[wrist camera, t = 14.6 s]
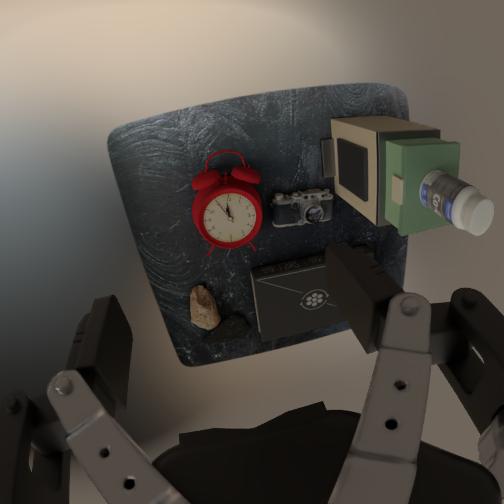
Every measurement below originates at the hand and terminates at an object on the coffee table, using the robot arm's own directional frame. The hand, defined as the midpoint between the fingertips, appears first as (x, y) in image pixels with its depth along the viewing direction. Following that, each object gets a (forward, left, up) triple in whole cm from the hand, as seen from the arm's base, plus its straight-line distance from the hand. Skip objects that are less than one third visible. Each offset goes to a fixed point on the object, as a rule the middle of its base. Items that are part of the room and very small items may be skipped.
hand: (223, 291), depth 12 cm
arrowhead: (+34, +3, -36) cm, 49 cm away
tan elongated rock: (+28, -5, -36) cm, 46 cm away
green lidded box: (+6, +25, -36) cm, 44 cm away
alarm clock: (+10, +3, -36) cm, 37 cm away
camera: (+13, +14, -36) cm, 41 cm away
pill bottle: (+6, +25, -18) cm, 31 cm away
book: (+30, +15, -36) cm, 49 cm away
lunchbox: (+6, +25, -22) cm, 34 cm away
